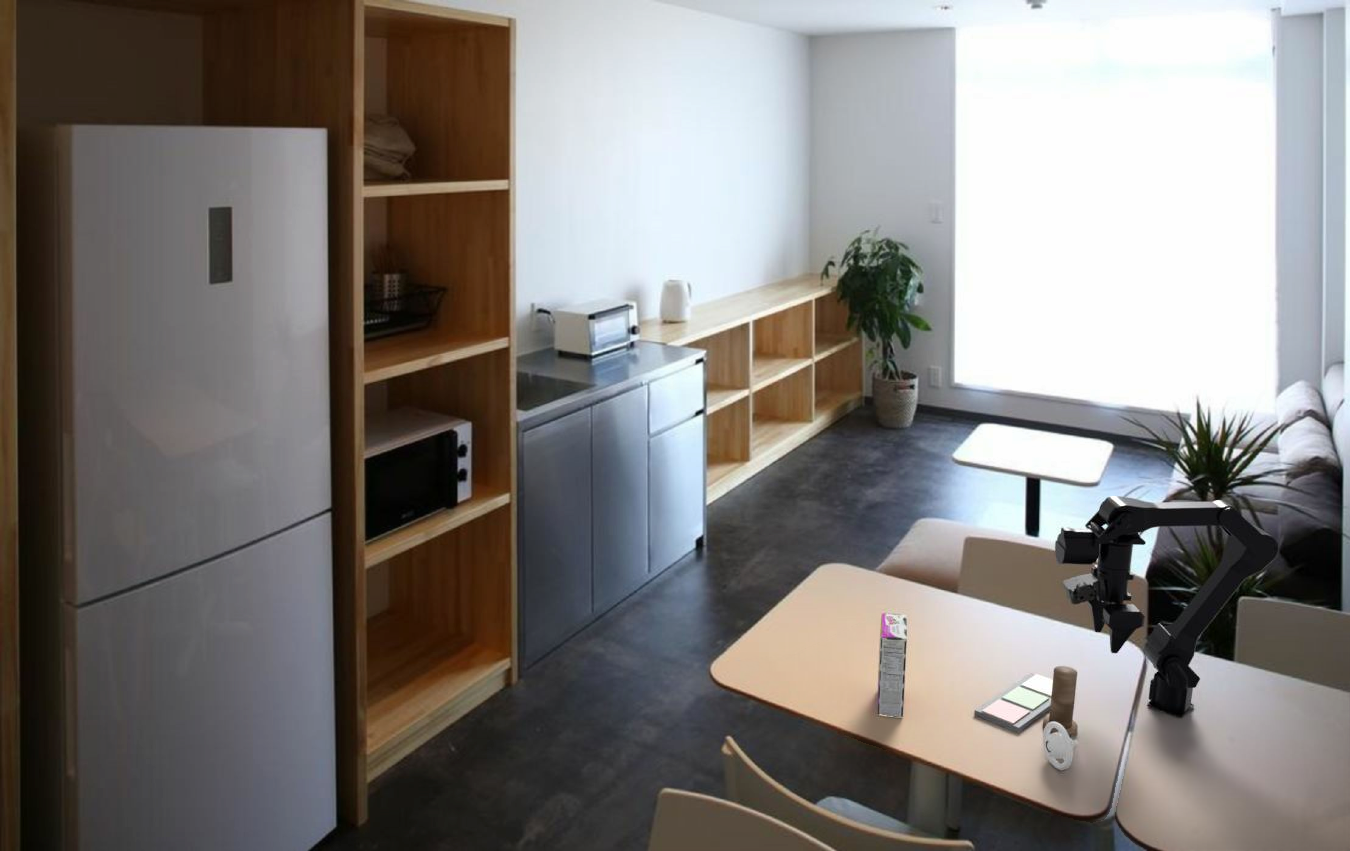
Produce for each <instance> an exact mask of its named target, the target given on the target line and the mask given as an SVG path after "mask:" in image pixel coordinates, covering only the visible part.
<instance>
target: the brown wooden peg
mask: <svg viewBox="0 0 1350 851" xmlns="http://www.w3.org/2000/svg"><path fill="white" fill-rule="evenodd" d="M1077 678H1078V671H1077V669H1075V668H1074V667H1070V666H1066V665H1065V666H1064V665H1057V666H1055V667H1054V668H1053V675H1052V680H1053V684H1052V694H1051V705H1050V710H1049V715H1048V716H1045V717H1044V718H1043V720H1042V728H1043V730H1044V729H1045V726H1046V725H1047V724H1048V723H1049V722H1053V721H1054V722H1058V723H1060V724H1061V725H1062V726H1063V727H1064V728H1065V730H1066V731H1067V733H1068V735H1069V737H1070V738H1071V737H1074V736H1076V735H1077V733H1078V728H1079V726H1078V724H1077V722H1076V721H1075V720H1073V718H1074V709H1075V699H1076V690H1077V680H1078V679H1077ZM1051 733H1058V730H1057V729H1056V728H1052V729H1051V731H1050V734H1051Z"/></svg>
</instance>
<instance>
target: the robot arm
mask: <svg viewBox="0 0 1350 851" xmlns="http://www.w3.org/2000/svg"><path fill="white" fill-rule="evenodd" d="M1105 525H1106V527H1105V528H1104V527H1103V526H1105ZM1217 526H1219V527H1220V528H1221V530H1223V532H1225V534H1226V535H1227V536H1229V537H1228V539H1227V541H1226V543H1225V544H1224V548H1223V551H1222V552H1223V553H1222V556H1221V557H1222V558H1221V562H1220V563H1219V564H1218V566H1217V567H1216V568H1215V569H1214V571H1213V573H1212V574H1211V575H1210V576H1209V577H1208V579H1207V580H1206V581H1205V583H1203V585H1202V586H1201V588H1200V589H1199V590H1198V591H1197V593H1196V594H1195V595H1194V597H1193V598H1192V599H1191V600H1190V602H1189V603H1188V604H1187V606H1186V607H1185V608H1184V609H1183V610H1182V612H1181V613H1180V614H1179V616H1178V617H1177V618H1176V620H1175V621H1174V622H1172V623H1170V624H1168V625H1166V626H1163V624H1162V623H1160V622H1158V623H1157V624H1156V625H1155V627H1154V629H1153V630H1152V631H1151V633H1150V634H1149V635H1147V636H1145V638H1144V639H1145V640H1146V642H1145V644H1144V647H1143V650H1144V654H1145V657H1146V658H1147V659H1148V660H1149V661H1150V663H1152V666H1153V668H1154V669H1156V672H1155V673H1154V675H1153V678H1152V679H1151V680H1150V681H1149V692H1148V700H1149V701H1148V702H1147V704H1146V705H1147V707H1149V708H1151V709H1155V710H1157V711H1161V712H1163V713H1166V714H1168V715H1172V716H1174V717H1178V718H1183V717H1184V716H1185V715H1187V713H1189V712H1190V711H1191V710H1192V709H1193V708H1194V707H1195V704H1194V703H1192V697H1193V691H1194V690H1193V689H1195V688H1197V686H1198V684H1199V682H1200V680H1201V678H1200V677H1199V675H1198V674H1197V673H1196V672H1195V671H1194V669H1192V668H1191V666H1190V664H1191V662H1192V660H1193V658H1194V657H1195V653H1196V647H1197V643H1198V639H1199V638H1200V636H1201V635H1202V634H1203V633H1204V631H1205V630H1206V629H1207V628H1208V626H1209V625H1210V624H1211V623H1212V622H1213V621H1214V619H1215V618H1216V616H1217V615H1218V614H1219V613H1220V612H1221V610H1222V609H1223V608H1224V606H1225V605H1226V603H1227V602H1228V601H1229V600H1230V599H1231V598H1232V596H1233V595H1234V593H1236V591H1237V590H1238V589H1239V588H1240V586H1241V585H1242V583H1243V582H1244V581H1245V580H1246V579H1247V578H1251V577H1252V576H1254V575H1256V574H1258V573H1260V572H1262V571H1263V570H1264V569H1265V568H1267V567H1268V566H1269V565H1270V564H1271V563H1272V562H1273V561H1274V560H1275V559H1276V558H1277V556H1278V555H1279V553H1280V552H1279V551H1280V549H1279V545H1278V541H1277V540H1276V539H1275V538H1274V537H1273V535H1270V534H1269V533H1267V532H1266V531H1264V530H1263V529H1261V528H1260V527H1258V526H1257V525H1254V524H1251V523H1250V521H1248V520H1247V519H1246V518H1244V517H1243V516H1242V515H1241V514H1240V513H1239V511H1238V509H1237V508H1236V507H1234V506H1233V505H1231V504H1230V503H1228V502H1227V501H1225V500H1220V499H1217V500H1214V501H1213V500H1212V501H1184V502H1183V501H1174V502H1170V501H1169V502H1168V501H1167V502H1165V501H1163V502H1150V501H1144V500H1140V499H1137V498H1133V497H1128V496H1127V497H1126V496H1118V495H1112V496H1108V497H1106V498H1105V499H1104V500H1103V501H1102V502H1101V504H1100V506H1099V509H1098V510H1097V511H1096V513H1095V514H1094V515H1092V517H1091V518H1090V519H1089V520H1088V521H1087V522H1086V524H1085V525H1084V527H1085V528H1071V527H1065V526H1063V527H1061V528H1060V532H1059V533H1058V535H1057V539H1056V540H1055V542H1054V552H1055V559H1056V562H1057V563H1058V565H1075V566H1076V565H1078V566H1079V565H1080V566H1082V565H1083V566H1088V565H1089V566H1091V565H1093V566H1092V567H1091V571H1090V573H1086V574H1080V575H1077V576H1074V577H1071V578H1067V579H1064V580H1063V581H1062V584H1063V587H1064V588H1063V589H1064V592H1065V595H1066V598H1067V599H1068V600H1069V601H1070V603H1071V604H1072V605H1079V604H1081V603H1086V602H1088V604H1089V609H1090V613H1091V619H1092V620H1091V621H1092V625H1093V630H1094V632H1095V633H1102V631H1103V628H1104V626H1105V625H1106V626H1107V627H1108V628H1109V644H1110V645H1109V646H1110V652H1111V654H1118V653H1119V651H1120V650H1121V649H1122V647H1123V646H1124V645H1125V643H1126V642H1127V640H1128V639H1129V638H1130V637H1131V635H1133V633H1134V632H1135V631H1136V630H1137V629H1140V628H1143V627H1144V625H1145V617H1146V616H1145V615H1144V614H1143V613H1142V611H1141V610H1139V609H1138V607H1137V606H1136V605H1135V604H1133V603H1124V601H1125V602H1126V601H1127V602H1130V601H1131V602H1132V595H1131V593H1129V583H1130V581H1134V577H1135V575H1134V574H1133V573H1132V571H1131V566H1132V558H1133V548H1134V545H1136V546H1139V545H1141V546H1144V545H1146V541H1145V540H1144V538H1142V537H1141V536H1140V533H1143V532H1146V531H1148V530H1150V529H1152V528H1159V527H1161V528H1167V527H1217ZM1095 563H1096V564H1095Z"/></svg>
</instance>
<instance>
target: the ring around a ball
mask: <svg viewBox="0 0 1350 851" xmlns="http://www.w3.org/2000/svg"><path fill="white" fill-rule="evenodd" d="M1052 728H1056V729H1057V730H1058V733H1050V731H1051V729H1052ZM1042 744H1043V749H1044V753H1045V755H1046V757H1047V759H1048V761H1049V762H1050V764H1051V765H1052V766H1053V767H1054V768H1055V769H1057V770H1060V771H1065V770H1068V768H1069V767H1070V766H1071V764H1072V762H1073V755H1074V754H1073V753H1074V751H1073V750H1074V749H1075V747H1077V746H1078V745H1079V742H1078V741H1077V740H1073V738H1071V736H1070V737H1069V735H1068V733H1067V731H1066V730H1065V728H1064V727H1063V726H1062V725H1061V724H1060V723H1058V722H1054V721H1053V722H1049V723H1048V724H1047V725H1046V726H1045V729H1044V728H1043V733H1042ZM1057 759H1058V760H1059V759H1060V760H1061V759H1063V762H1062V763H1060V762H1059V761H1058V760H1057Z"/></svg>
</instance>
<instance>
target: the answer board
mask: <svg viewBox="0 0 1350 851" xmlns="http://www.w3.org/2000/svg"><path fill="white" fill-rule="evenodd" d="M1052 684H1053V678H1049V677H1046V676H1042V675H1041V674H1040V675H1039V674H1034V673H1032V672H1030V673H1029V674H1027V675H1026V676H1025V677H1023V678H1021V679H1020V680H1018V681H1017V682H1015V683H1014V684H1012V685H1011V686H1009V687H1008V688H1006V689H1005V690H1003V691H1001V692H999V693H998V694H997V695H996V696H994V697H992V698H991V699H989V700H988V701H986V702H985V703H983V704H982V705H980V706H979V707H977V708H976V709H975V710H974V713H973V714H975V715H974V716H976V717H978V716H979V717H978V718H981V719H984V720H986V721H989V722H991V723H994V724H997V725H998V726H1000V727H1003V728H1006V729H1008V730H1011V731H1014V732H1016V733H1021V731H1023V730H1025V729H1026V728H1027V727H1029V726H1030V725H1031V724H1033V723H1034V722H1035V721H1037V720H1039V718H1040V717H1042V716H1043V715H1045V714H1046V713H1048V712H1050V705H1051V694H1052Z"/></svg>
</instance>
